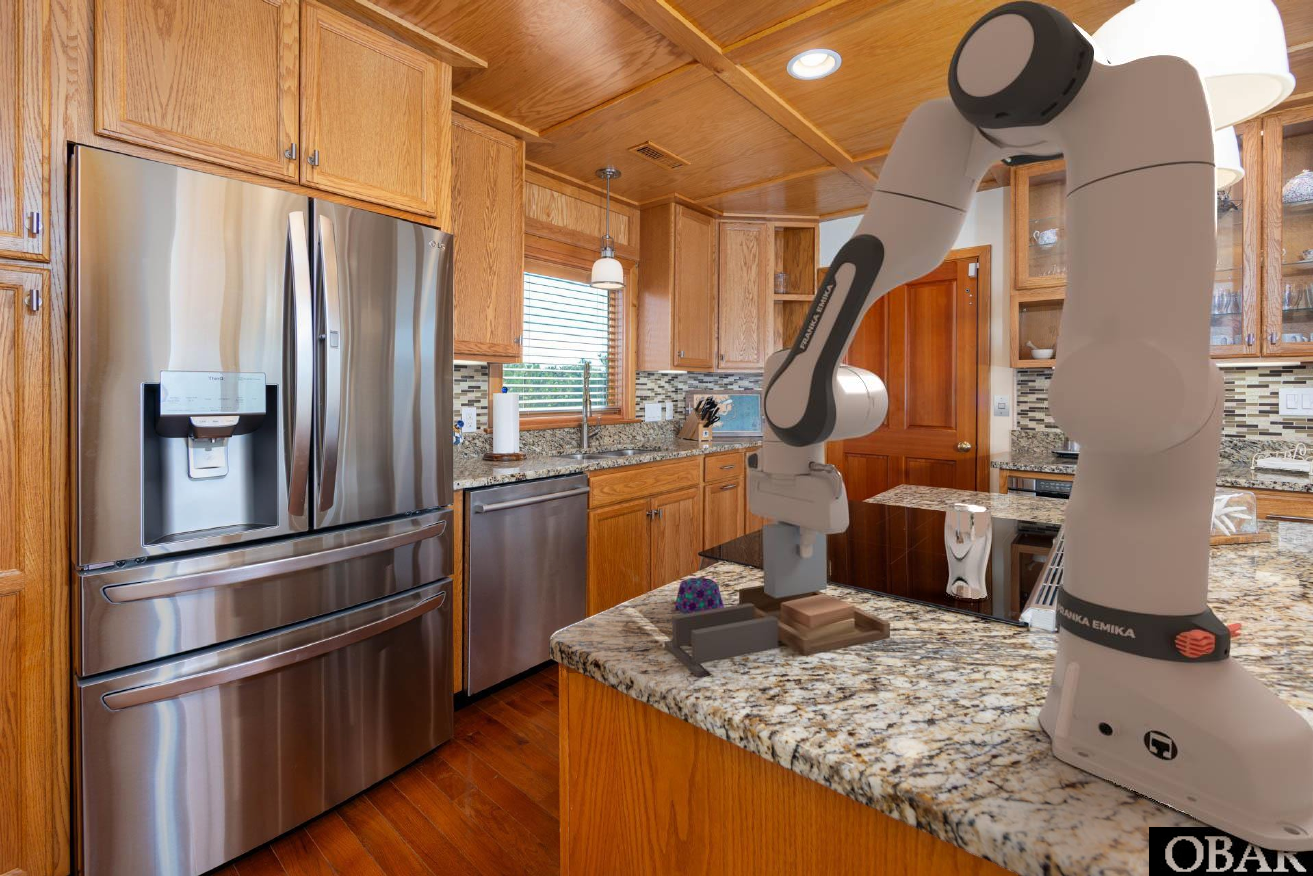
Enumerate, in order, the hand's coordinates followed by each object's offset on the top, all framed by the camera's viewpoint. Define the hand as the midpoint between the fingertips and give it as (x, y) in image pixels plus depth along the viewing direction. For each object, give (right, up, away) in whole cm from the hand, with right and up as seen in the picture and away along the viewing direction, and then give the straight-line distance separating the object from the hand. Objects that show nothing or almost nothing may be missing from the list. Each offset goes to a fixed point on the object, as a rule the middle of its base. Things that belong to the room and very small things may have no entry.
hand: (795, 553), depth 92 cm
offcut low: (+2, -10, -4) cm, 11 cm away
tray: (+2, -11, -3) cm, 11 cm away
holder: (-11, -11, -10) cm, 19 cm away
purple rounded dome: (-14, -11, +6) cm, 18 cm away
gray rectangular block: (0, -6, 0) cm, 6 cm away
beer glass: (+31, -10, +12) cm, 35 cm away
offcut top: (+2, -8, -5) cm, 10 cm away
